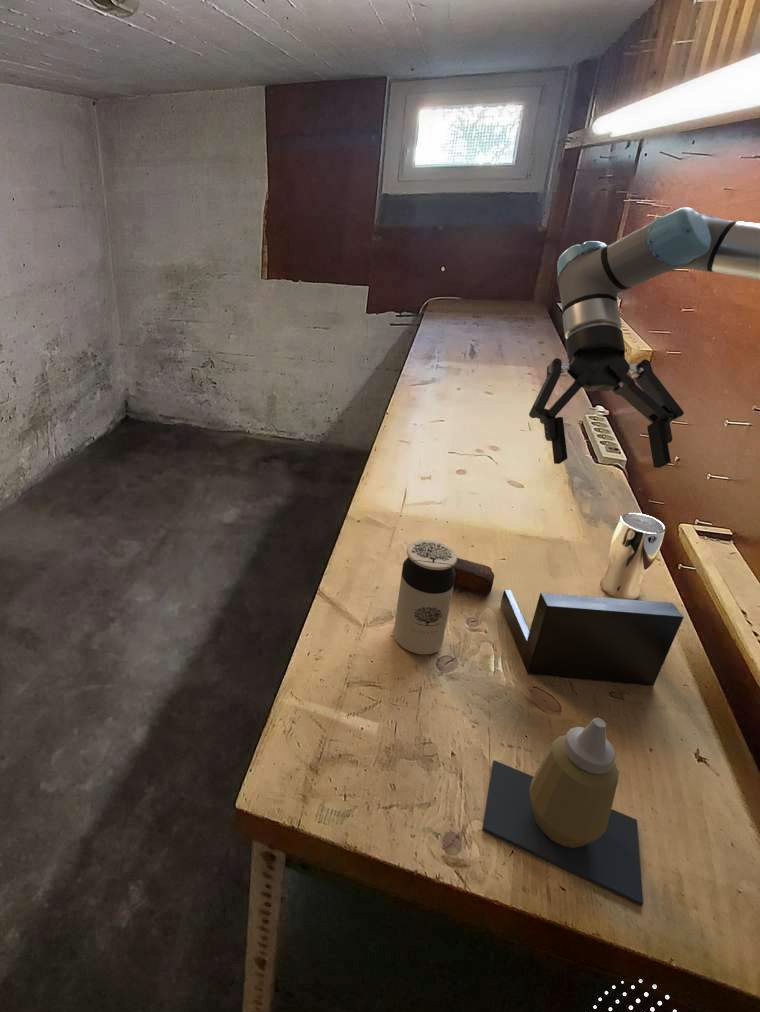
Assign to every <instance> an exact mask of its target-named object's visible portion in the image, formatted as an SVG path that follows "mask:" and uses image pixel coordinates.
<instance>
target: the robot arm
mask: <svg viewBox="0 0 760 1012" xmlns="http://www.w3.org/2000/svg"><path fill="white" fill-rule="evenodd" d="M556 267H557V268H556V269H557V277H556V281H557V282H556V284H557V286H558V289H559V296H560V304H561V313H562V323H563V324H562V325H563V331H564V337H565V339H566V340H565V346H566V347H565V348H566V355H567V356H566V358H567V361H568V362H567V361H566V362H565V361H562V359H561V358H559V357H555V358H554V359H553V360H552V361H551V362H550V363H549V364H548V365H547V367H546V378H545V380H544V382H543V384H542V386H541V388H540V390H539V392H538V394H537V396H536V399H535V401H534V403H533V404H532V407H531V409H530V411H529V413H528V416H529V417H530V418H532V419H539V423H540V424H541V425H543V430H544V438H545V441H546V442H551V448H552V456H553V457H552V458H553V464H554V465H560V464H562V463H563V462H565V461H567V459H568V451H567V441H566V432H565V424H564V417H563V416H557V415H558V414H560V412H561V411H562V410H563V408H564V407H565V406H566V405H567V404H568V403H569V402H570V401H571V400H572V398H574V396H576V394H577V393H578V392H579V391H580V390H581V388H582V389H584V390H585V391H586V392H595V391H599V392H606V393H607V392H610V391H612V392H613V393H614V394H615V395H617V396H621V397H622V398H623V399H624V400H625V401H626V402H627V403H628V404H630V405H631V406H632V407H633V408H634V409H635V410H636V411H638V412H639V413H640V414H641V415H642V416H644V418H645V419H647V420H648V421H649V422H650V424H649V425H647V426H646V427H647V434H648V440H649V447H650V454H651V459H652V465H653V468H656V469H661V468H663V467H664V466H667V465H668V464H671V462H672V460H671V455H670V449H669V444H671V443H672V442H673V434H672V428H671V423H672V422H674V421H675V420H677V419H679V418H681V417H682V416H684V414H685V412H684V410H683V409H682V408H681V406H680V405H679V404H678V403H677V401H676V400H675V398H674V397H673V396H672V395H671V394H670V391H668V389H667V388H666V387H665V386H664V385H663V383H662V382H661V380H660V379H659V378H658V377H657V375H656V374H655V373H654V370H653V367H652V364H651V362H650V360H648V359H642V360H641V361H640V362H632V363H631V362H630V363H629V361H628V360H627V359H626V346H625V341H624V334H623V331H622V319H621V315H620V310H619V309H620V308H619V303H618V294H619V293H621V292H624V291H627V290H629V289H632V288H633V287H635V286H638V285H639V284H642V283H644V282H647V281H649V280H651V279H653V278H656V277H659V276H661V275H663V274H667V273H669V272H672V271H675V270H678V269H682V268H686V269H691V270H696V271H702V272H709V273H716V274H723V275H729V276H733V277H739V278H744V279H749V280H756V281H760V223H756V222H749V221H747V222H745V221H740V220H739V221H737V220H730V219H723V218H722V219H721V218H719V217H716V216H714V215H710V214H700V213H699V212H698V211H696V210H694V208H692V207H687V206H686V207H685V206H684V207H680V208H678V209H676V210H674V211H672V212H670V213H668V214H665V215H662V216H659V217H657V218H655V219H654V220H653V221H652V222H650V223H647V224H646V225H644V226H643V227H640V228H639V229H637V230H635V231H633V232H631V233H629V234H627V235H626V236H623V237H621V238H620V239H618V240H616V241H614V242H612V243H610V244H608V245H607V244H606V243H605V242H602V241H598V240H589V241H585V242H583V243H582V244H574V245H572V246H570V247H568V248H567V249H566V250H565V251H564V252H562V254H561V255H560V256H559V258H558V260H557V265H556ZM564 373H567V374H568V376H570V378H571V379H573V380H574V381H573V382H572V383H571V384H570V385H569V386H568V387H567V388H566V390H564V392H563V393H562V394H561V396H559V398H558V399H557V400H556V401H555V402H554V403H553V404H552V405H551V406H550V408H549V409H548V408H546V406H547V404H548V403H549V400H550V398H551V396H552V394H553V391H554V390H555V387H556V386H557V383H558V381H559V380H560V377H561V376H562V375H564ZM628 373H629V374H630V375H629V374H628ZM620 383H622V384H623V385H620Z"/></svg>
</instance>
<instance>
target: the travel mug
mask: <svg viewBox="0 0 760 1012" xmlns="http://www.w3.org/2000/svg"><path fill="white" fill-rule="evenodd" d="M406 556H407V557H406V558H405V559H404V561H403V562H402V569H401V576H400V584H399V590H398V598H397V603H396V612H395V618H394V627H393V637H394V639H395V641H396V642H397V644H398V645H399V646H400V647H402V648H403V649H405V650H406V651H409V652H410V653H413V654H418V655H432V654H435V653H436V652H438V651H439V650H441V648H442V646H443V642H444V638H445V632H446V628H447V623H448V617H449V611H450V606H451V601H452V596H453V591H454V587H453V586H454V581H455V576H456V573H455V570H454V568H453V566H454V565H455V563H456V562H457V558H458V556H457V554H456V552H455V551H454V550H453V549H452V547H450V546H449V545H447V544H446V543H443V542H441V541H438V540H433V539H418V540H414V541H412V542H410V543H409V544H408V545H407V547H406Z"/></svg>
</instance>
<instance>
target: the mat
mask: <svg viewBox="0 0 760 1012" xmlns="http://www.w3.org/2000/svg"><path fill="white" fill-rule="evenodd" d="M533 777H534V775H531V774H528V773H527V772H524V771H521V770H519V769H517V768H514V767H511V766H509V765H507V764H504V763H502V762H500V761H498V760H495V759H493V761H492V765H491V773H490V778H489V785H488V792H487V797H486V798H487V799H486V805H485V811H484V817H483V823H482V828H481V829H482V832H485V833H487V834H489V835H491V836H492V837H495V838H498V839H499V840H502V841H503V842H506V843H508V844H510V845H512V846H514V847H516V848H518V849H521V850H523V851H524V852H526V853H529V854H531V855H533V856H535V857H537V858H539V859H541V860H543V861H546V862H547V863H550V864H552V865H553V866H556V867H559V868H561V869H562V870H565V871H566V872H569V873H571V874H573V875H575V876H576V877H579V878H581V879H583V880H585V881H587V882H590V883H591V884H593V885H596V886H598V887H600V888H602V889H604V890H606V891H608V892H611V893H612V894H615V895H617V896H619V897H621V898H623V899H625V900H628V901H629V902H632V903H634V904H636V905H638V906H640V907H642V906H643V905H644V894H643V893H644V892H643V881H642V868H641V855H640V840H639V828H638V820H637V819H636V818H633V817H631V816H630V815H627V814H625V813H621V812H619V811H617V810H614V809H613V808H611V813H610V817H609V821H608V825H607V830H606V831H605V832H604V833H603V834H602V836H601V837H600V838H599V839H597V840H595V841H592V842H590V843H588V844H586V845H584V846H581V847H577V848H570V847H565V846H562V845H560V844H558V843H556V842H554V841H552V840H551V839H550V838H549V837H548V836H547V835H545V834H544V833H543V832H542V831H541V829H540V827H539V826H538V824H537V823H536V821H535V817H534V813H533V808H532V803H531V798H530V793H529V789H530V785H531V781H532V779H533Z"/></svg>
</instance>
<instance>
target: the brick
mask: <svg viewBox="0 0 760 1012" xmlns="http://www.w3.org/2000/svg"><path fill="white" fill-rule="evenodd" d="M453 568H454V570H455V573H456V576H455V581H454V586H453V588H456V589H459V590H462V591H466V592H469V593H472V594H476V595H480V596H483V597H487V596H489V595H490V594H491V592H492V590H493V585H494V579H495V573H494V572H493V569H492V568H491V567H490V566H488V565H485V564H481V563H478V562H475V561H471V560H468V559H463V558H460V557H457V562H456V563H455V565H454V566H453Z"/></svg>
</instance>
